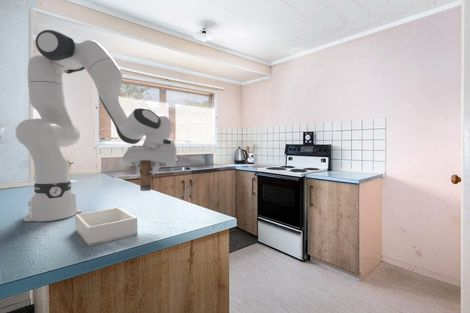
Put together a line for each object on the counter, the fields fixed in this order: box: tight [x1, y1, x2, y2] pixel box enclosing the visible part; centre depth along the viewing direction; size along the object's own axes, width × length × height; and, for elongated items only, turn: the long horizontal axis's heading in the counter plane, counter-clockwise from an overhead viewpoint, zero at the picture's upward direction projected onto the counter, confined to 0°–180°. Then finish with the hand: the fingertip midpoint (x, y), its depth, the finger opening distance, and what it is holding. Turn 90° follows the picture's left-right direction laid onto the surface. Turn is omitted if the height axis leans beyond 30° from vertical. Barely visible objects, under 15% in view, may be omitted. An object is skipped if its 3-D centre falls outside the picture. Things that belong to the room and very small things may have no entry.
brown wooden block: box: [139, 160, 152, 192], centre depth 91 cm, size 4×4×11 cm
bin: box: [74, 206, 138, 247], centre depth 82 cm, size 18×14×6 cm
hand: (145, 173), depth 91 cm, fingers closed on brown wooden block, 4 cm apart
